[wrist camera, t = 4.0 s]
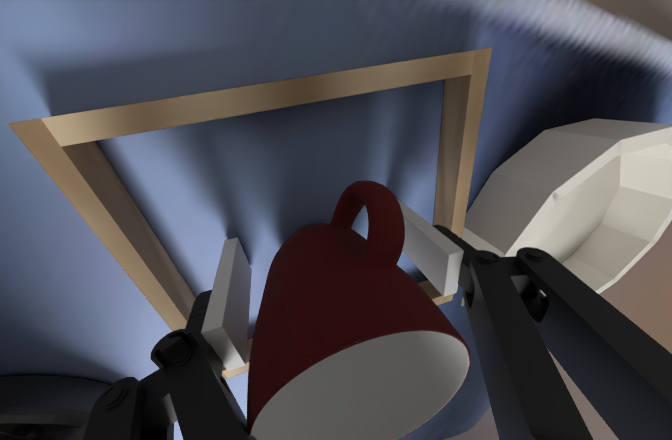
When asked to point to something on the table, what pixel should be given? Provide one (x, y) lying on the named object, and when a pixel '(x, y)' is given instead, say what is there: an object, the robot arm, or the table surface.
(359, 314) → the mug
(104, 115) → the frame tray
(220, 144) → the table surface
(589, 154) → the bowl
